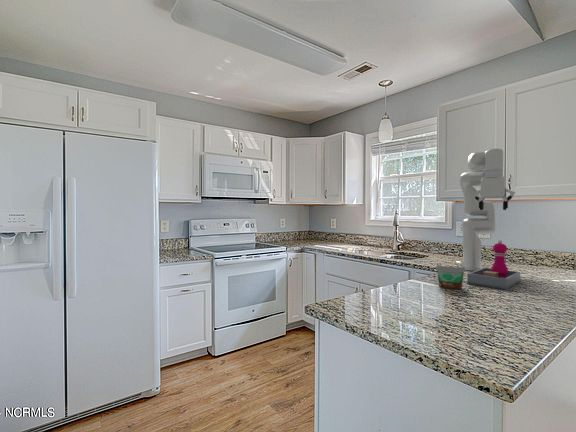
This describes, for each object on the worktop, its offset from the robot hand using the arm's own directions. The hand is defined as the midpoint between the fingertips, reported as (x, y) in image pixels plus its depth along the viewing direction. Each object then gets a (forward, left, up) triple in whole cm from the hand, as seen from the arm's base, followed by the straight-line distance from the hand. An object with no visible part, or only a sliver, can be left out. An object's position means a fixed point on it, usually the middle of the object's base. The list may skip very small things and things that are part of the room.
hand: (492, 209), depth 149 cm
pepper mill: (+1, +10, -36) cm, 37 cm away
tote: (0, +5, -36) cm, 37 cm away
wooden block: (0, -1, -35) cm, 35 cm away
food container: (-10, -25, -36) cm, 45 cm away
